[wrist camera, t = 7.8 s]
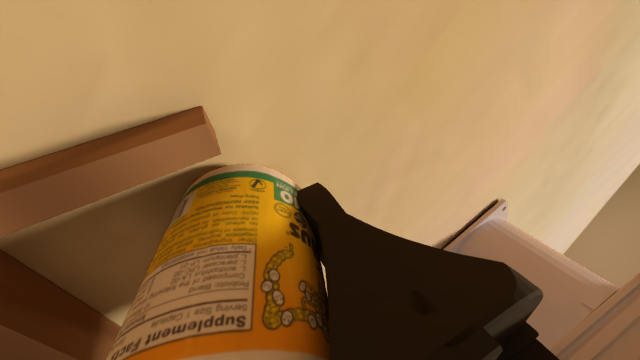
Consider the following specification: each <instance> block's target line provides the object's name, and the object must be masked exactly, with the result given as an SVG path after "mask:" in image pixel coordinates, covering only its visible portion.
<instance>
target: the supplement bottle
mask: <svg viewBox="0 0 640 360" xmlns="http://www.w3.org/2000/svg"><path fill="white" fill-rule="evenodd" d="M299 190H301V188H300V187H299V186H298V185H297V184H295V183H294V182H293V181H291V180H290V179H289V178H287V177H286V176H284V175H283V174H281V173H279V172H277V171H276V170H273V169H271V168H267V167H263V166H259V165H254V164H236V165H230V166H225V167H222V168H218V169H215V170H212V171H210V172H208V173H206V174H205V175H203V176H202V177H200V178H199V179H197V180H196V181H195V182H194V183H193V184H192V185H191V186H190V187H189V188H188V190H187V191H186V192H185V194H184V196H183V197H182V199H181V201H180V203H179V205H178V207H177V209H176V211H175V214H174V216H173V218H172V220H171V222H170V224H169V226H168V228H167V230H166V232H165V234H164V236H163V239H162V241H161V243H160V245H159V247H158V249H157V252H156V254H155V256H154V258H153V260H152V262H151V264H150V266H149V269H148V271H147V273H146V275H145V278H144V280H143V282H142V284H141V286H140V288H139V290H138V292H137V295H136V297H135V299H134V301H133V303H132V305H131V307H130V309H129V311H128V314H127V316H126V318H125V320H124V322H123V324H122V327H121V329H120V331H119V333H118V335H117V337H116V339H115V341H114V343H113V346H112V348H111V350H110V352H109V354H108V356H107V358H106V360H330V340H329V310H328V297H327V292H326V288H325V281H324V276H323V270H322V266H321V262H320V257H319V250H318V245H317V241H316V239H315V236H314V234H313V232H312V229H311V227H310V225H309V223H308V221H307V219H306V218H305V216H304V214H303V212H302V210H301V208H300V206H299V204H298V202H297V200H296V197H297V193H298V191H299Z"/></svg>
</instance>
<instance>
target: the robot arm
mask: <svg viewBox="0 0 640 360" xmlns="http://www.w3.org/2000/svg"><path fill="white" fill-rule="evenodd" d="M296 200H297V202H298V204H299V206H300V208H301V210H302V212H303V214H304V216H305V218H306V219H307V221H308V223H309V225H310V227H311V229H312V232H313V234H314V236H315V239H316V241H317V245H318V250H319V257H320V261H321V262H322V264H323V265H324V267H325V271H326V281H327V292H328V310H329V340H330V360H640V272H639V273H638V274H637V275H636V276H635V277H633V279H631V280H630V281H629V282H627V283H626V284H625V285H624V286H623V287H622V288H621V289H619V288H618V287H616V286H614V285H613V284H611V283H609V282H608V281H606V280H604V279H603V278H601V277H599V276H598V275H596V274H594V273H593V272H591V271H589V270H587V269H586V268H584V267H583V266H581V265H579V264H577V263H576V262H574V261H572V260H571V259H569V258H567V257H566V256H564V255H562V254H561V253H559V252H557V251H556V250H554V249H552V248H551V247H549V246H547V245H546V244H544V243H542V242H541V241H539V240H537V239H536V238H534V237H532V236H531V235H529V234H527V233H526V232H524V231H522V230H521V229H519V228H517V227H516V226H514V225H512V224H511V223H509V222H507V215H508V201H506V200H504V199H502V200H500V201H499V202H498V203H497V204H495V205H494V206H493V207H492V208H491V209H490V210H488V211H487V212H486V213H485V214H484V215H483V216H482V217H480V218H479V219H478V220H477V221H476V222H475V223H473V224H472V225H471V226H470V227H469V228H468V229H466V230H465V231H464V232H463V233H462V234H461V235H460V236H458V237H457V238H456V239H455V240H454V241H453V242H451V243H450V244H449V245H448V246H447V247H446V248H444V249H443V250H442V249H438V248H434V247H431V246H427V245H424V244H421V243H417V242H414V241H411V240H408V239H404V238H402V237H399V236H396V235H393V234H391V233H388V232H386V231H383V230H381V229H378V228H376V227H373V226H371V225H369V224H367V223H365V222H363V221H361V220H359V219H357V218H355V217H353V216H351V215H349V214H347V213H346V212H345V211H344V210H343V209H342V207H341V206H340V205H339V203H338V202H337V201H336V200H335V198H334V197H333V196H332V195H331V193H330V192H329V191H328V190H327V189H326V188H325V187H323V186H322V185H321V184H319V183H315V184H313V185H311V186H308V187H306V188H304V189H301V190H299V191H298V193H297V197H296Z"/></svg>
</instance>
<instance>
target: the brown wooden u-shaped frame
mask: <svg viewBox="0 0 640 360" xmlns="http://www.w3.org/2000/svg"><path fill="white" fill-rule="evenodd" d="M220 154H221V151H220V148H219V144H218V141H217V138H216V134H215V132H214V129H213V127H212V125H211V123H210V121H209V119H208V117H207V115H206V113H205V111H204V109H203V107H202V106H200V107H197V108H193V109H190V110H187V111H184V112H181V113H178V114H175V115H172V116H168V117H165V118H162V119H159V120H156V121H153V122H150V123H147V124H144V125H140V126H137V127H134V128H131V129H128V130H125V131H122V132H119V133H115V134H112V135H109V136H106V137H103V138H100V139H97V140H94V141H90V142H87V143H84V144H81V145H78V146H75V147H72V148H69V149H65V150H62V151H59V152H56V153H53V154H50V155H47V156H44V157H41V158H37V159H34V160H31V161H28V162H25V163H22V164H19V165H16V166H12V167H9V168H6V169H3V170H0V237H2V236H5V235H7V234H10V233H13V232H15V231H18V230H21V229H23V228H26V227H29V226H31V225H34V224H36V223H39V222H42V221H44V220H47V219H50V218H52V217H55V216H58V215H60V214H63V213H66V212H68V211H71V210H74V209H76V208H79V207H82V206H84V205H87V204H90V203H92V202H95V201H98V200H100V199H103V198H106V197H108V196H111V195H114V194H116V193H119V192H121V191H124V190H127V189H129V188H132V187H135V186H137V185H140V184H143V183H145V182H148V181H151V180H153V179H156V178H159V177H161V176H164V175H167V174H169V173H172V172H175V171H177V170H180V169H183V168H185V167H188V166H191V165H193V164H196V163H199V162H201V161H204V160H207V159H209V158H212V157H214V156H217V155H220ZM120 329H121V327H120V326H118V325H117V324H115V323H114V322H112V321H111V320H109V319H107V318H106V317H104V316H103V315H101V314H100V313H98V312H96V311H95V310H93V309H92V308H90V307H89V306H87V305H85V304H84V303H82V302H81V301H79V300H78V299H76V298H74V297H73V296H71V295H70V294H68V293H67V292H65V291H64V290H62V289H60V288H59V287H57V286H56V285H54V284H53V283H51V282H49V281H48V280H46V279H45V278H43V277H42V276H40V275H38V274H37V273H35V272H34V271H32V270H31V269H29V268H27V267H26V266H24V265H23V264H21V263H20V262H18V261H17V260H15V259H13V258H12V257H10V256H9V255H7V254H6V253H4V252H2V251H1V250H0V360H106V358H107V356H108V354H109V352H110V350H111V348H112V346H113V343H114V341H115V339H116V337H117V335H118V333H119V331H120Z"/></svg>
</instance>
